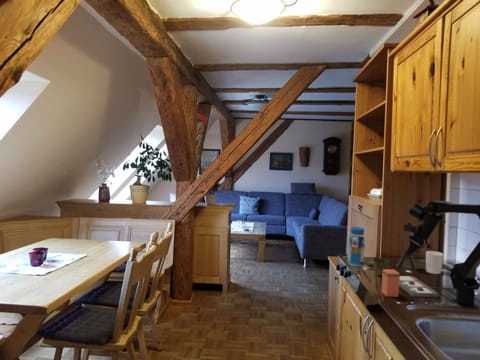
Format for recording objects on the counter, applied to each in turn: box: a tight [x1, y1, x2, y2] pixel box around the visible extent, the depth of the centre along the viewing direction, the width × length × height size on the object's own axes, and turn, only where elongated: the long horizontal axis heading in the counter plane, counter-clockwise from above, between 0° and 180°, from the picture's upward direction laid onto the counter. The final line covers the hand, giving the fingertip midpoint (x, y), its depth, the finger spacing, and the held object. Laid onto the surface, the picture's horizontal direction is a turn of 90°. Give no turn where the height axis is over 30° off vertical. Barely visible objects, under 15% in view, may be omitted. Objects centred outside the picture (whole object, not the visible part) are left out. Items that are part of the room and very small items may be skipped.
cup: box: [372, 257, 390, 277], centre depth 166 cm, size 8×7×8 cm
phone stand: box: [396, 245, 417, 273], centre depth 177 cm, size 9×6×12 cm, turn 62°
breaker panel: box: [399, 275, 440, 298], centre depth 151 cm, size 20×11×2 cm, turn 1°
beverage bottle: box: [347, 226, 366, 267], centre depth 182 cm, size 8×8×20 cm
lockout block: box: [380, 268, 401, 298], centre depth 143 cm, size 5×5×10 cm
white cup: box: [425, 250, 444, 275], centre depth 173 cm, size 8×8×10 cm
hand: (409, 254), depth 152 cm, fingers open, 9 cm apart
